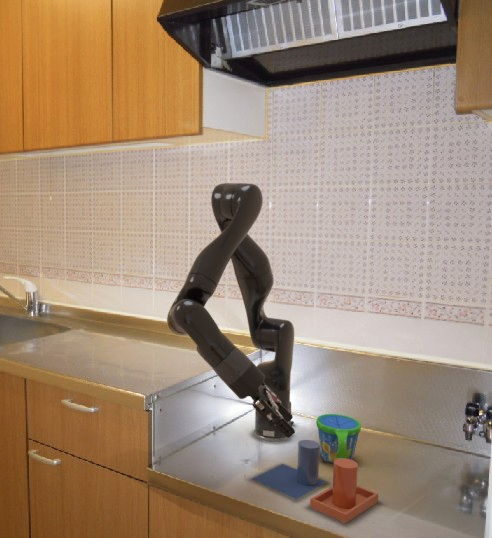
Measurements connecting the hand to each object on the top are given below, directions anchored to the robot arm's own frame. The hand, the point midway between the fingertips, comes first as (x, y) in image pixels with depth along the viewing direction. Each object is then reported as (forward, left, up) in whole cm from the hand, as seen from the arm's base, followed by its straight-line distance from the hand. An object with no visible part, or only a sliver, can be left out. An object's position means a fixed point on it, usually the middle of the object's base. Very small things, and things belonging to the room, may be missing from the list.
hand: (290, 427), depth 123 cm
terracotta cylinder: (-7, +9, -16) cm, 20 cm away
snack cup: (-26, -4, -17) cm, 31 cm away
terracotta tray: (-7, +9, -16) cm, 20 cm away
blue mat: (-7, -5, -16) cm, 18 cm away
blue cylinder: (-10, -2, -16) cm, 19 cm away
